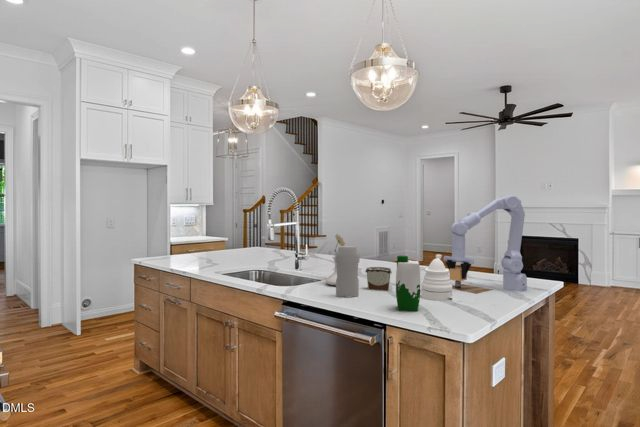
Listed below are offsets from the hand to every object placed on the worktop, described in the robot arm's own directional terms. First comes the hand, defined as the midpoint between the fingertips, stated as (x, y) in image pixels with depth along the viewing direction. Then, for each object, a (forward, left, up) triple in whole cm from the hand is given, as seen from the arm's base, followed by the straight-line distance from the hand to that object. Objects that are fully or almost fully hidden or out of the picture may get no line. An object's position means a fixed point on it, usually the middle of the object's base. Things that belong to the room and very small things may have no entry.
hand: (458, 277), depth 186 cm
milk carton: (-7, +44, -6) cm, 45 cm away
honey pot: (-2, +19, -6) cm, 20 cm away
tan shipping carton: (0, 0, -1) cm, 1 cm away
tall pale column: (+22, +49, -6) cm, 54 cm away
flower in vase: (+44, +36, -6) cm, 57 cm away
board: (-4, -3, -6) cm, 8 cm away
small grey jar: (0, 0, -5) cm, 5 cm away
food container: (+24, +27, -6) cm, 37 cm away
